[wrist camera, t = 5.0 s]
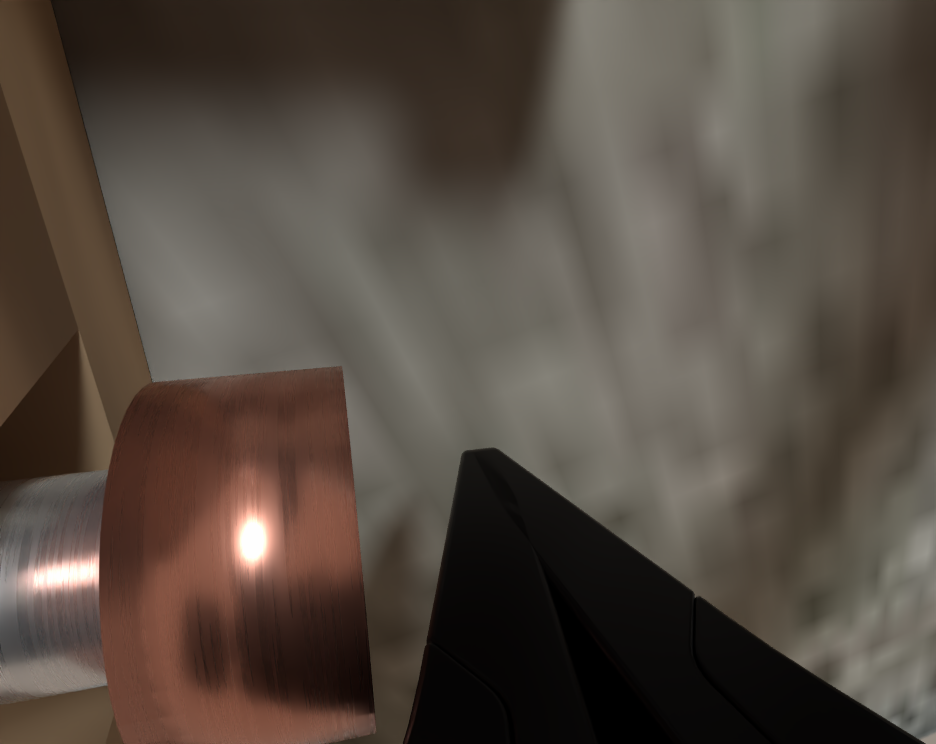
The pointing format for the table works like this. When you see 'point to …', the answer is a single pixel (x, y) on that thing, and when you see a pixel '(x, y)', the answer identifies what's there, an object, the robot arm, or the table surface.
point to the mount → (56, 314)
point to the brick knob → (199, 569)
